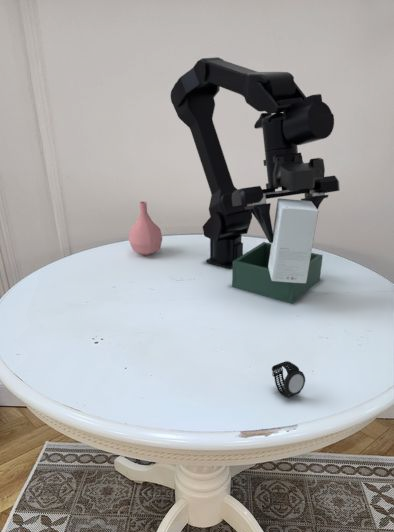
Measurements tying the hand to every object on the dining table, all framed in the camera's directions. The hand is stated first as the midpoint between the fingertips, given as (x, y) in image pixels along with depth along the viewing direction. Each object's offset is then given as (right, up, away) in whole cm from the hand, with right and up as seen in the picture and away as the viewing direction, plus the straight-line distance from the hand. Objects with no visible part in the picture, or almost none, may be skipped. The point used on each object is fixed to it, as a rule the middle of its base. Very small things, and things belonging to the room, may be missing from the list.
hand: (290, 239), depth 98 cm
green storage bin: (-1, -7, +12) cm, 13 cm away
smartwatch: (-4, -27, -19) cm, 33 cm away
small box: (-1, -7, 0) cm, 7 cm away
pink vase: (-29, +2, +27) cm, 39 cm away
